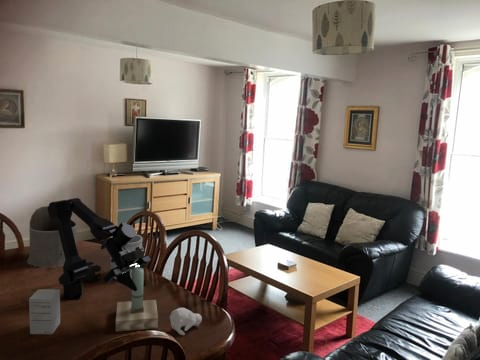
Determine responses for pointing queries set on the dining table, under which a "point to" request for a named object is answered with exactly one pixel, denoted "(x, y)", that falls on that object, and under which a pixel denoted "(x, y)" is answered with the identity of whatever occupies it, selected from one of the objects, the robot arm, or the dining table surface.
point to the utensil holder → (131, 245)
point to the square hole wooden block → (136, 316)
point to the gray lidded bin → (46, 240)
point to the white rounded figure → (184, 319)
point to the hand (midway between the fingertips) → (140, 288)
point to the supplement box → (44, 311)
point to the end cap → (92, 272)
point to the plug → (137, 295)
